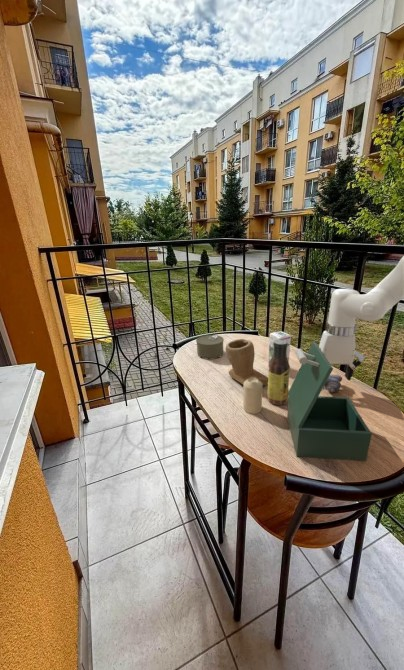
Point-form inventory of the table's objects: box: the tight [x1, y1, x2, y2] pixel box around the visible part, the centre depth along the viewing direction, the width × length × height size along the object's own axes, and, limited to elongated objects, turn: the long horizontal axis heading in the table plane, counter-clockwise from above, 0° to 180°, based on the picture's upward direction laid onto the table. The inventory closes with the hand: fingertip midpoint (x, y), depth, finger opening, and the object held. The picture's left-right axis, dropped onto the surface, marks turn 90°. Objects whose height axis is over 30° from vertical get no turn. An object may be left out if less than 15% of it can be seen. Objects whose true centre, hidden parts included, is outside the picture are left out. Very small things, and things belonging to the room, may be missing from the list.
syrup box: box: [267, 330, 292, 368], centre depth 107 cm, size 6×6×14 cm
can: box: [195, 334, 224, 359], centre depth 124 cm, size 12×12×7 cm
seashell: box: [323, 374, 343, 393], centre depth 93 cm, size 5×5×10 cm
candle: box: [242, 377, 263, 414], centre depth 84 cm, size 6×6×10 cm
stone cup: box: [225, 338, 268, 387], centre depth 99 cm, size 15×12×15 cm
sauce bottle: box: [267, 340, 291, 406], centre depth 86 cm, size 7×6×20 cm
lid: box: [288, 341, 334, 429], centre depth 68 cm, size 16×15×5 cm
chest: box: [286, 395, 372, 462], centre depth 71 cm, size 16×15×8 cm
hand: (332, 377), depth 93 cm, fingers open, 9 cm apart
